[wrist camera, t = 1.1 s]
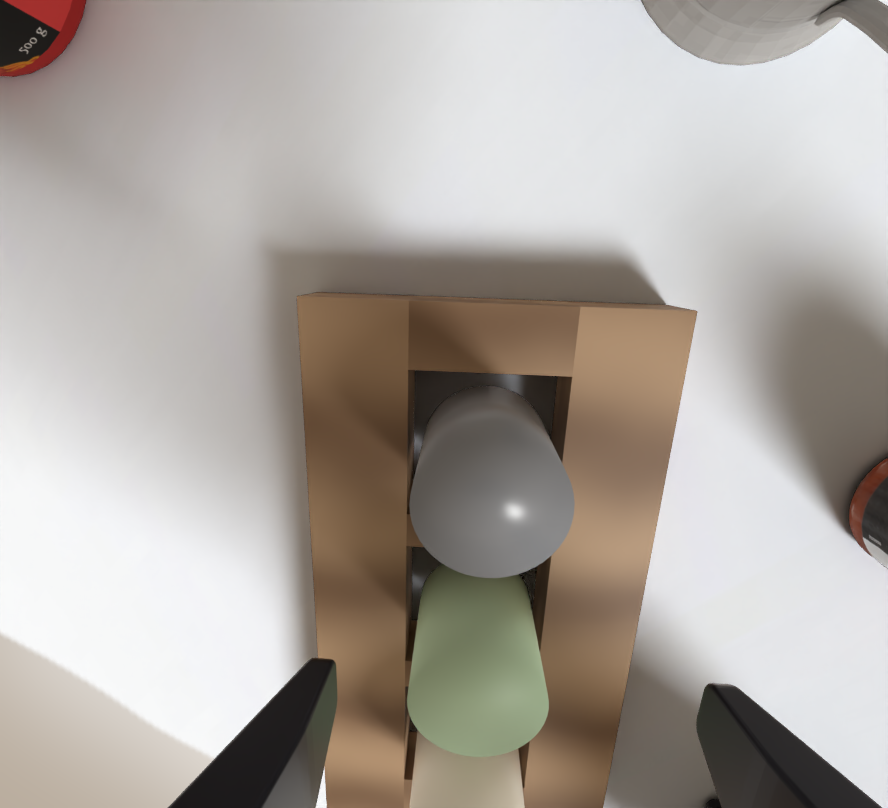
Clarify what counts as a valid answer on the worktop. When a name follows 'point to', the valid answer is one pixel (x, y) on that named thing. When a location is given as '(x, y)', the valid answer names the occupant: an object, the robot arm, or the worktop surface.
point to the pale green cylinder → (476, 665)
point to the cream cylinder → (464, 779)
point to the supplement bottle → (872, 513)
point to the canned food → (35, 32)
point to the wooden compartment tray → (392, 537)
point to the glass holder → (761, 25)
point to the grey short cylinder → (490, 486)
